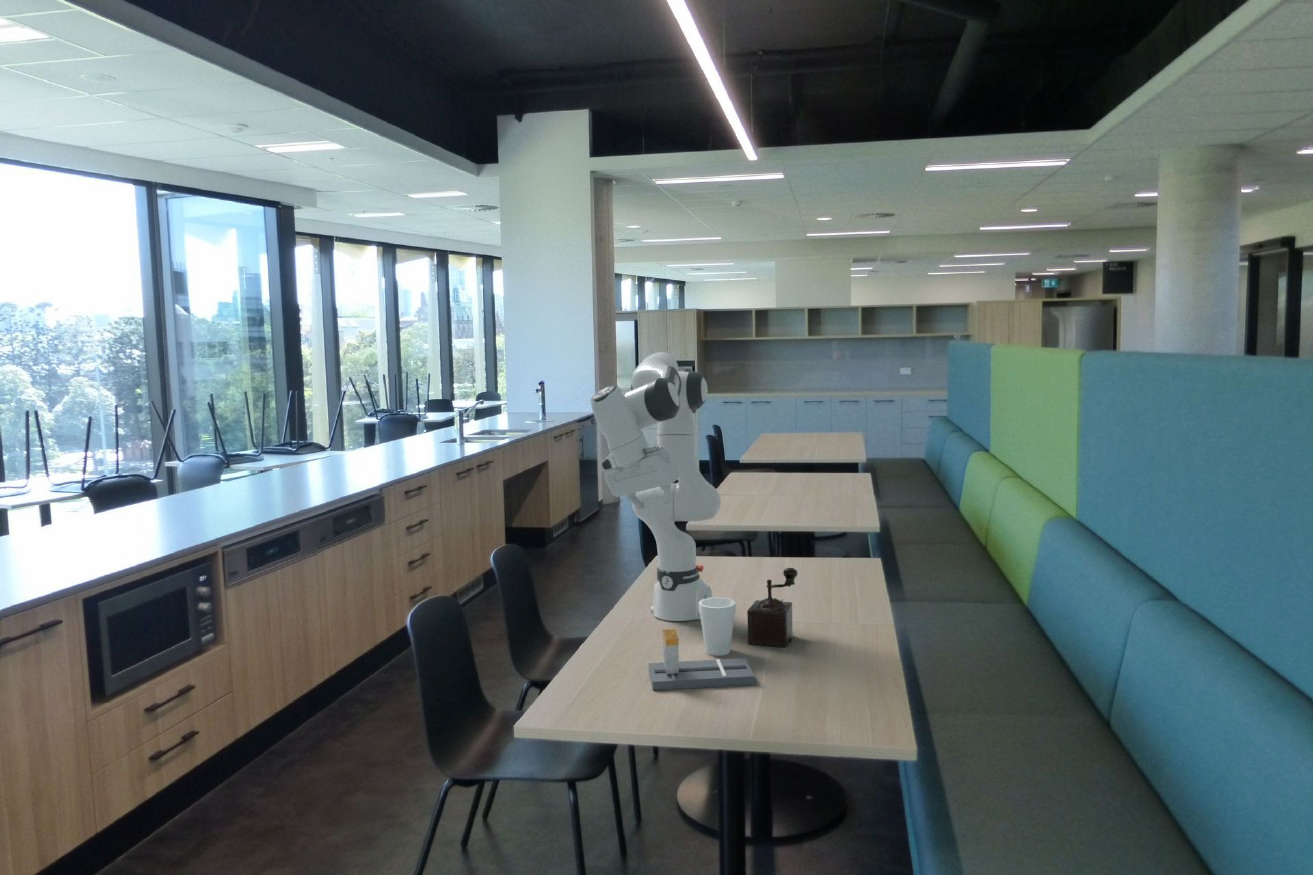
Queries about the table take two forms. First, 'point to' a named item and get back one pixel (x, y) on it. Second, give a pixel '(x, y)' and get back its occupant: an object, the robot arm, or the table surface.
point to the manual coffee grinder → (772, 617)
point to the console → (702, 674)
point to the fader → (671, 651)
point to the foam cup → (717, 624)
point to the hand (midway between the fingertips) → (655, 505)
